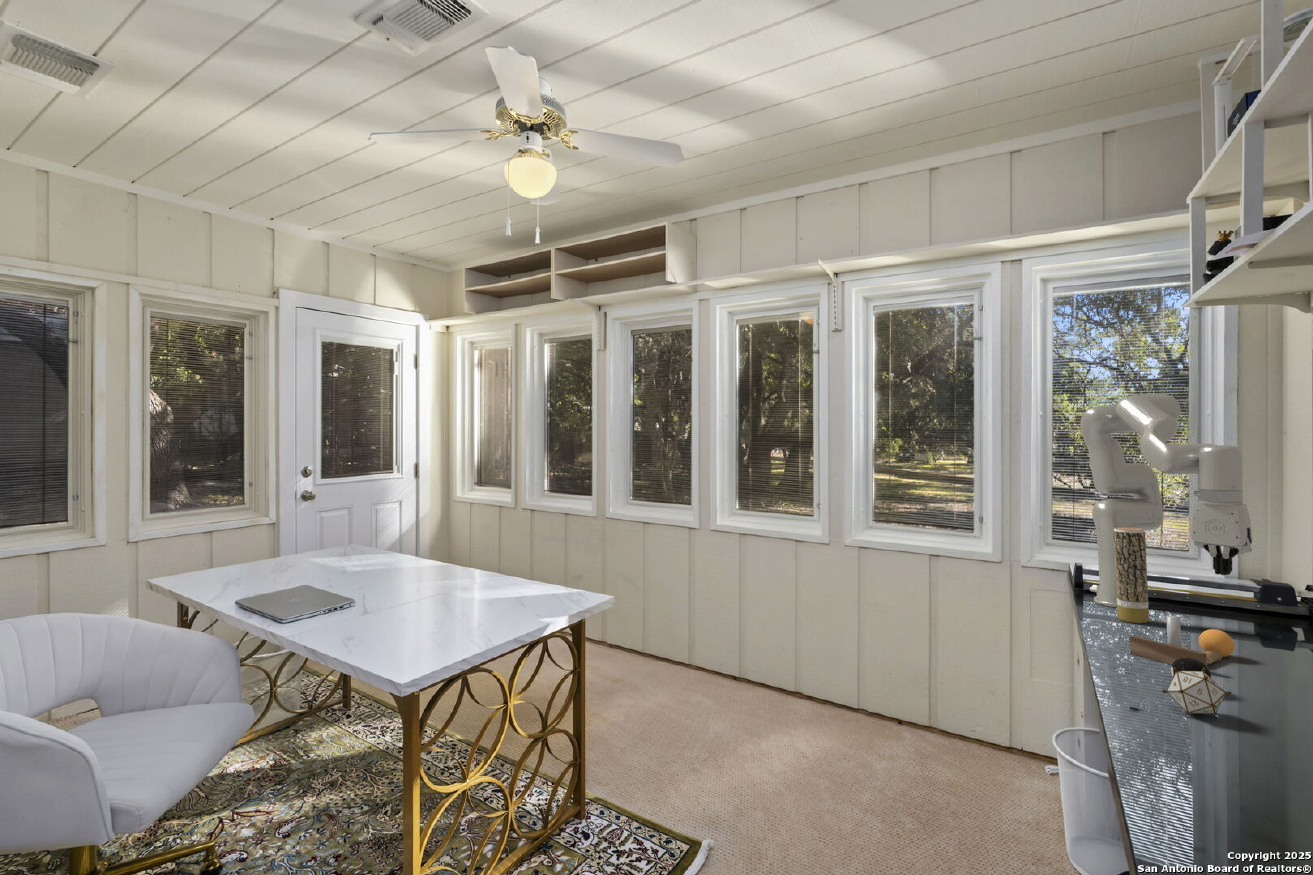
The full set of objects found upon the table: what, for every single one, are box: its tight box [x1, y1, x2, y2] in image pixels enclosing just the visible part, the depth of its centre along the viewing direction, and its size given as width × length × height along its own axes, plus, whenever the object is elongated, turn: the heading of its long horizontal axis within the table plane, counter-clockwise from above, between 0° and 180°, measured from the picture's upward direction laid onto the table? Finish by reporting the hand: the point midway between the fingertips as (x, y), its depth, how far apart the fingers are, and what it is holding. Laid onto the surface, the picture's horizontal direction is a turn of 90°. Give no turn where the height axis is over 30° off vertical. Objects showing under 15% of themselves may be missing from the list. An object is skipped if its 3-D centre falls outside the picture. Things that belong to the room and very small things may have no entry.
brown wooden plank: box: [1129, 635, 1208, 667], centre depth 136 cm, size 2×14×4 cm, turn 23°
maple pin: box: [1203, 649, 1223, 666], centre depth 135 cm, size 2×2×8 cm
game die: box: [1160, 667, 1233, 716], centre depth 111 cm, size 9×8×10 cm
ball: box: [1198, 628, 1235, 658], centre depth 139 cm, size 6×6×6 cm
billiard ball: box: [1170, 658, 1212, 679], centre depth 122 cm, size 6×6×6 cm
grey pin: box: [1166, 615, 1182, 647], centre depth 142 cm, size 2×2×8 cm
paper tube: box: [1114, 528, 1150, 624], centre depth 168 cm, size 7×7×25 cm
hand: (1222, 573), depth 147 cm, fingers closed
